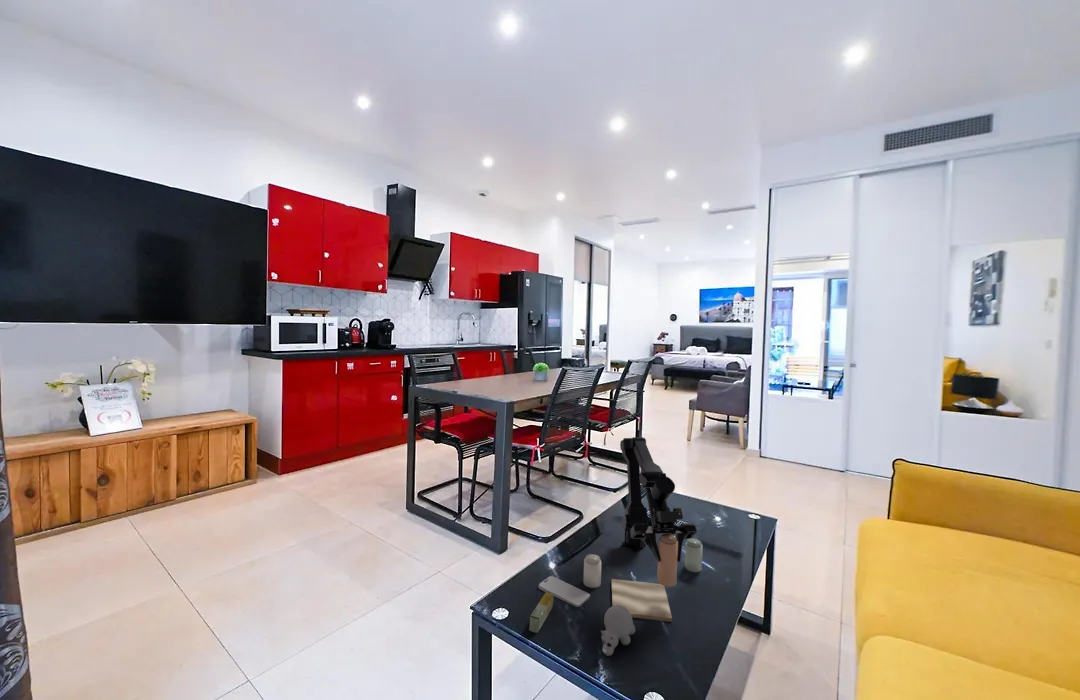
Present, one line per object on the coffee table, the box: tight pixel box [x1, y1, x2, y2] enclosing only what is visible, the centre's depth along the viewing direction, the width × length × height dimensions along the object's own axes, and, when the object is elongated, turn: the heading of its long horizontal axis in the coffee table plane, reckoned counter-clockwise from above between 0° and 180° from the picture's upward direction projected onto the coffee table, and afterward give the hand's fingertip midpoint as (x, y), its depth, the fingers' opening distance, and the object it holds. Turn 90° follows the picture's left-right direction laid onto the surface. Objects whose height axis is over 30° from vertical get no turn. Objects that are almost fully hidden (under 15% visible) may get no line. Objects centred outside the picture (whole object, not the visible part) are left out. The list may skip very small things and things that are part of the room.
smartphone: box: [537, 575, 591, 608], centre depth 132 cm, size 7×1×15 cm
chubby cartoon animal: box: [600, 605, 636, 657], centre depth 110 cm, size 7×12×8 cm, turn 141°
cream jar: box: [582, 553, 602, 589], centre depth 137 cm, size 5×5×8 cm
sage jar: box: [684, 538, 704, 573], centre depth 147 cm, size 5×5×9 cm
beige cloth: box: [611, 578, 673, 623], centre depth 128 cm, size 16×16×1 cm
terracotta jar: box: [656, 534, 678, 587], centre depth 126 cm, size 5×5×13 cm
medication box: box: [528, 592, 555, 634], centre depth 119 cm, size 12×3×4 cm, turn 159°
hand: (669, 561), depth 125 cm, fingers closed on terracotta jar, 5 cm apart
